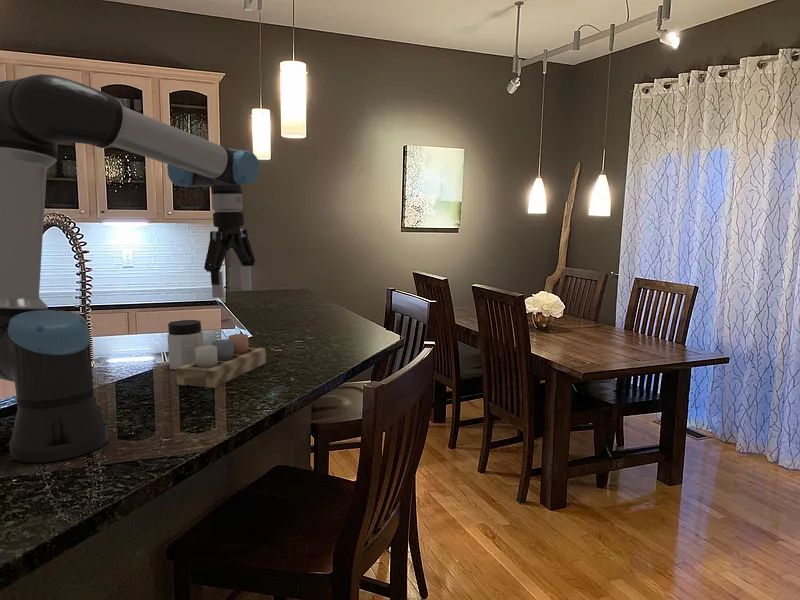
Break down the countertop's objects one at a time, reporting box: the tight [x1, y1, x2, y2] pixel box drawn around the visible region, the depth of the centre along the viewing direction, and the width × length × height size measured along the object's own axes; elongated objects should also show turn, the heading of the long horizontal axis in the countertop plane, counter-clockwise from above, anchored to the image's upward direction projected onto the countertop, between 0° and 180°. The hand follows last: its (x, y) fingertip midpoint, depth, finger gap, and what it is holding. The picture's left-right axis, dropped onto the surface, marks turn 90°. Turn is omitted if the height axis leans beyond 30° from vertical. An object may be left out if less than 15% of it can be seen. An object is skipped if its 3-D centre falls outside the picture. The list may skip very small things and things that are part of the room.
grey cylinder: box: [211, 338, 234, 361], centre depth 152 cm, size 5×5×5 cm
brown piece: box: [228, 333, 249, 355], centre depth 159 cm, size 5×5×5 cm
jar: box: [167, 319, 204, 371], centre depth 159 cm, size 9×8×12 cm
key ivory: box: [195, 344, 218, 368], centre depth 146 cm, size 5×5×5 cm
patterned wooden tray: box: [175, 346, 267, 389], centre depth 153 cm, size 24×10×4 cm, turn 163°
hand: (233, 293), depth 157 cm, fingers open, 13 cm apart
